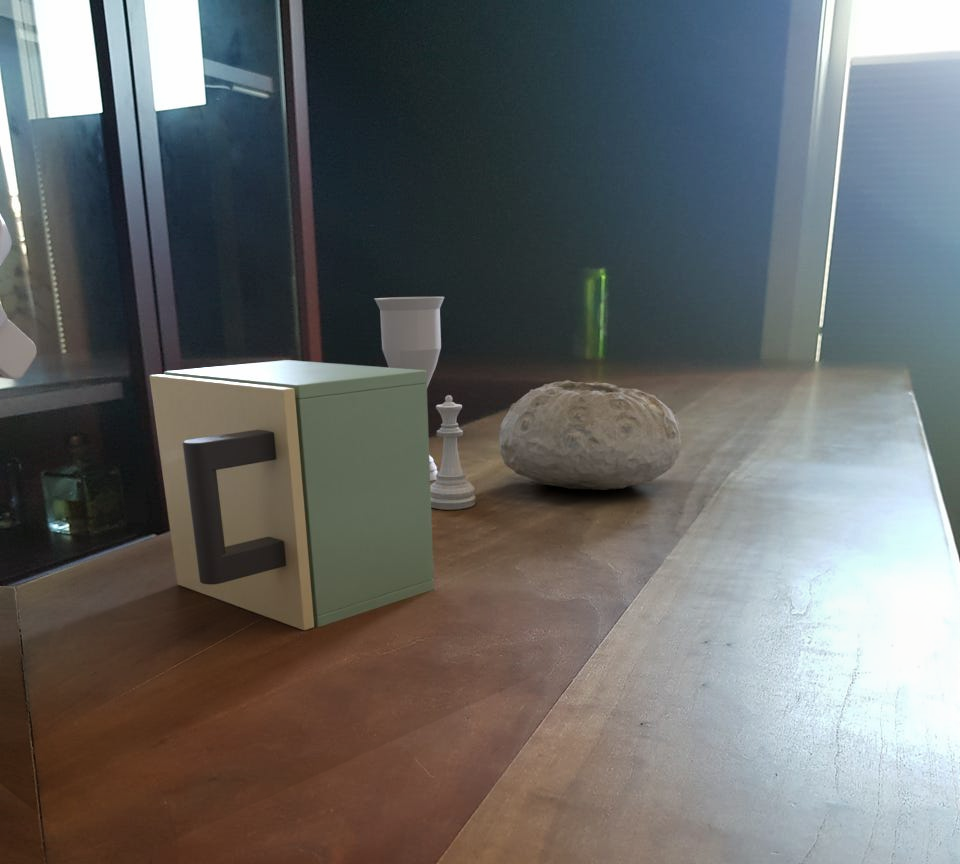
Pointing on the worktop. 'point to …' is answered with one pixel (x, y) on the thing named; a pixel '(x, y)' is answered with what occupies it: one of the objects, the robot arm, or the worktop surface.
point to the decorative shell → (589, 436)
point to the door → (235, 493)
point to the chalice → (412, 336)
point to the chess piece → (451, 465)
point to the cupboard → (357, 478)
